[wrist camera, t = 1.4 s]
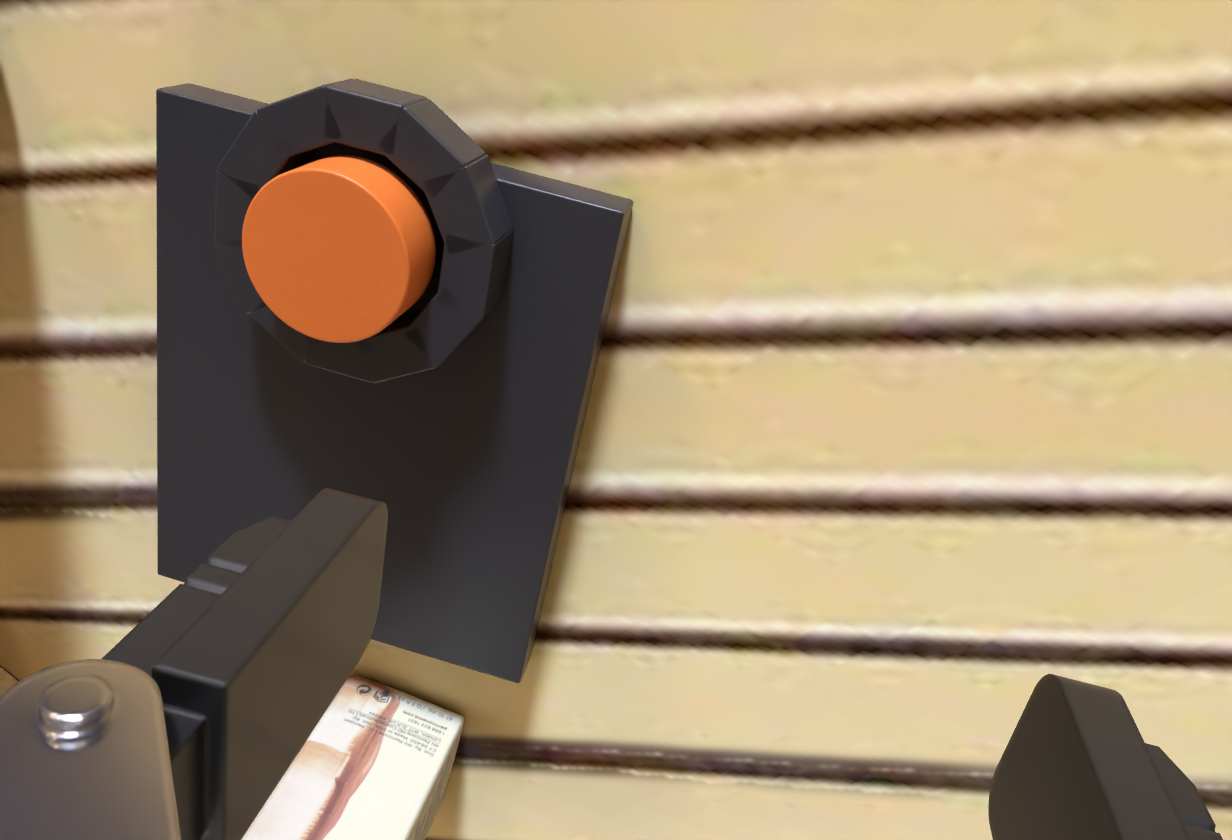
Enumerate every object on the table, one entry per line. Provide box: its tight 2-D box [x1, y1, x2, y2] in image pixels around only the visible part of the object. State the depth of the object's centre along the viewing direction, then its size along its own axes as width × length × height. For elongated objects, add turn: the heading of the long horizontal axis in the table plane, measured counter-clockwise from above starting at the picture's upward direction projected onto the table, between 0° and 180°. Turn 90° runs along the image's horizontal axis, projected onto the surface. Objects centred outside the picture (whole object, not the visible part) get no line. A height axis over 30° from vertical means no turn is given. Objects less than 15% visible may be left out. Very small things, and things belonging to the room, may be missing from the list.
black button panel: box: [156, 79, 633, 683], centre depth 26 cm, size 16×12×3 cm
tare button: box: [242, 155, 436, 343], centre depth 22 cm, size 4×4×2 cm
